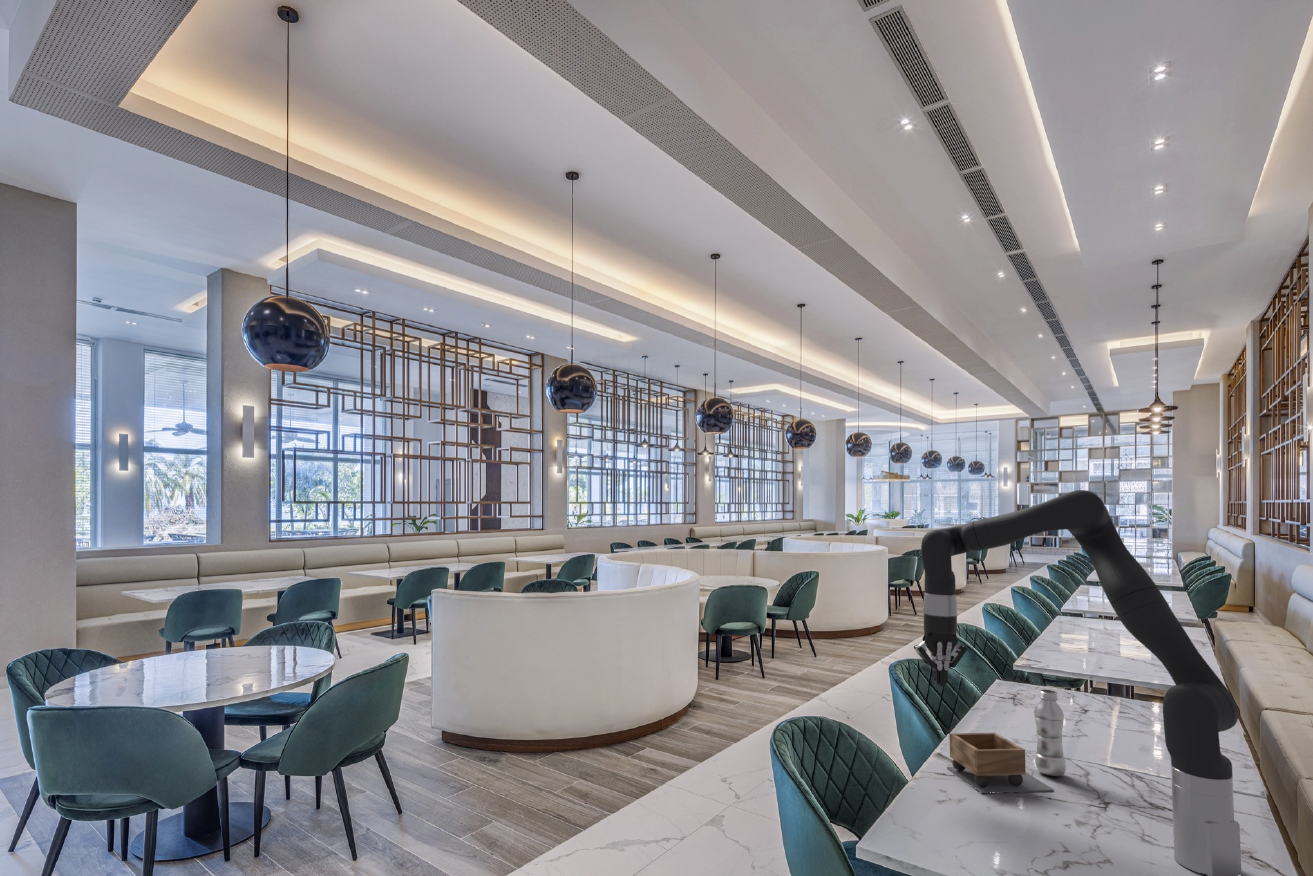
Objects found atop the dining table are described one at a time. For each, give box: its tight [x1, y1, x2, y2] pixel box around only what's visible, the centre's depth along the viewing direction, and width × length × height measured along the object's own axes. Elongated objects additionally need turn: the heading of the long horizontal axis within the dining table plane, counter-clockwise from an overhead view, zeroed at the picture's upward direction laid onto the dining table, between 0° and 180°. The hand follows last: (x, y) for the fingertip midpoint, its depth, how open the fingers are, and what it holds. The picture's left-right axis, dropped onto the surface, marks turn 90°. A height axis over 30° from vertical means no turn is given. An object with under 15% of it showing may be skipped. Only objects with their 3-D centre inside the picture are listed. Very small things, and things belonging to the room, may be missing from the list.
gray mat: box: [946, 766, 1055, 794], centre depth 172 cm, size 15×18×1 cm
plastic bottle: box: [1033, 688, 1067, 777], centre depth 176 cm, size 6×7×20 cm
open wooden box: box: [949, 732, 1027, 787], centre depth 172 cm, size 12×12×8 cm
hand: (940, 685), depth 172 cm, fingers closed
